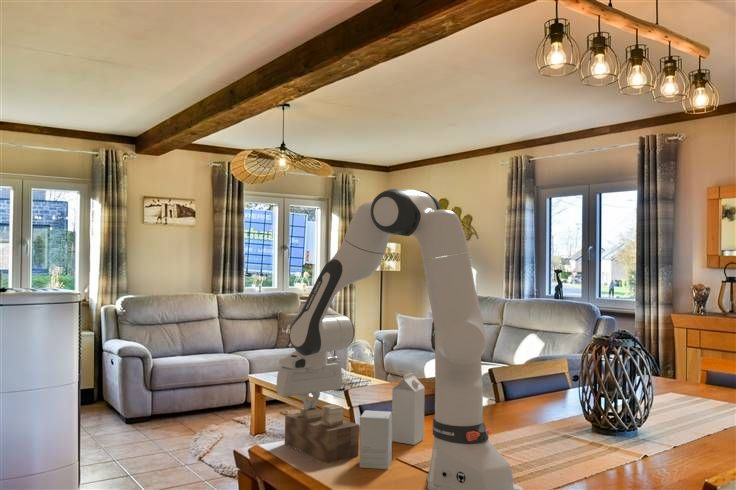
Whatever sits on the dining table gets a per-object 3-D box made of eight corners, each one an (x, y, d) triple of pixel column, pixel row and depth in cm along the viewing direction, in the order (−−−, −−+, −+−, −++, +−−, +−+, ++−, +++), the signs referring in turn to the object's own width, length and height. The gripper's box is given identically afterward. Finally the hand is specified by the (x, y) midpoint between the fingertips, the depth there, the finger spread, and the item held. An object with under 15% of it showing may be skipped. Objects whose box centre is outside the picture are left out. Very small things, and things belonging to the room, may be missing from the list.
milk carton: (391, 441, 174) (392, 374, 175) (401, 435, 180) (402, 371, 181) (414, 445, 171) (415, 377, 171) (424, 439, 177) (425, 373, 178)
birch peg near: (342, 433, 162) (343, 406, 162) (330, 436, 159) (331, 409, 159) (333, 430, 165) (334, 404, 165) (321, 432, 162) (322, 406, 162)
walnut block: (358, 455, 161) (359, 424, 161) (327, 462, 155) (328, 430, 155) (314, 438, 176) (314, 409, 176) (284, 444, 170) (285, 415, 170)
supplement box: (392, 460, 157) (393, 411, 158) (387, 470, 150) (388, 418, 150) (363, 458, 159) (364, 409, 159) (358, 467, 151) (359, 416, 152)
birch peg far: (320, 434, 169) (320, 409, 169) (308, 437, 166) (308, 411, 167) (311, 431, 172) (312, 406, 172) (300, 434, 169) (300, 408, 170)
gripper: (334, 354, 179) (332, 401, 179) (274, 360, 166) (272, 411, 165) (347, 357, 174) (346, 406, 174) (287, 363, 161) (285, 416, 160)
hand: (309, 408), depth 169 cm, fingers closed
